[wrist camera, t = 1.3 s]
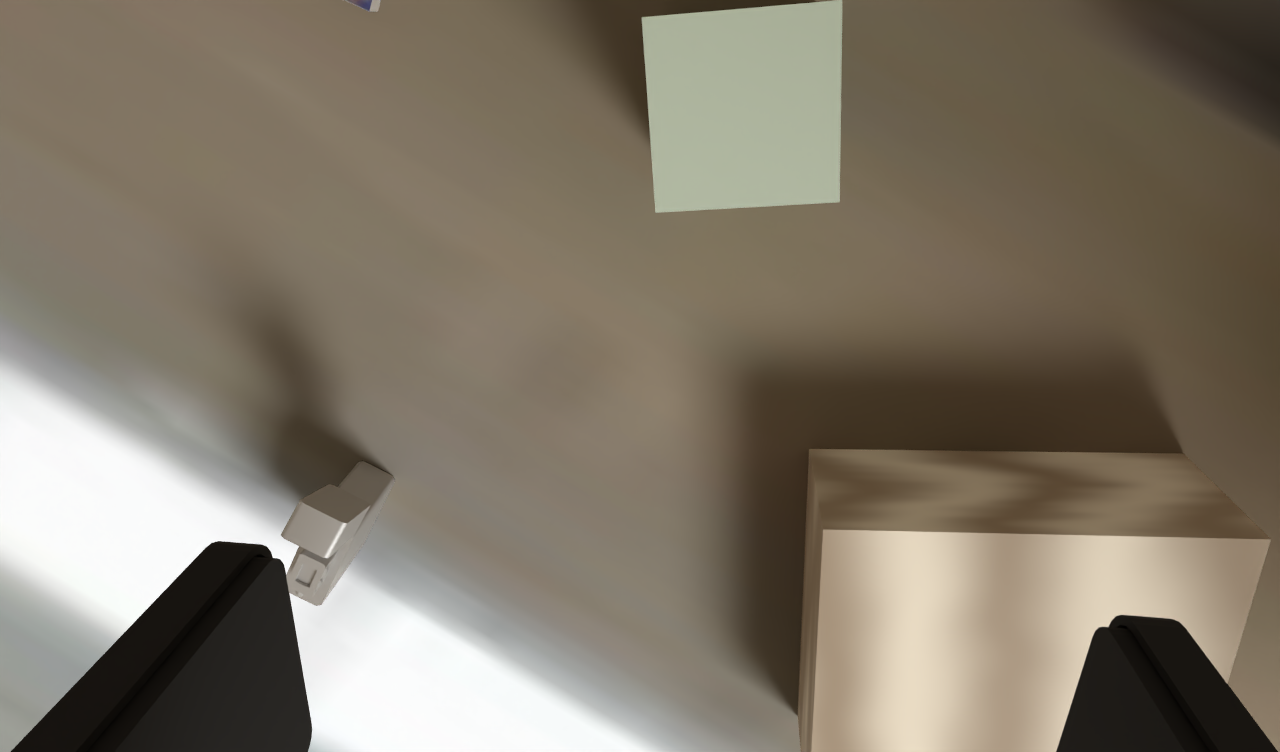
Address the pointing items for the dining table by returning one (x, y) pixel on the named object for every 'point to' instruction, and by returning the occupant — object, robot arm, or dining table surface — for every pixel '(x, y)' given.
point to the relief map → (366, 4)
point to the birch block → (999, 587)
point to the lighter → (333, 530)
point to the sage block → (745, 106)
